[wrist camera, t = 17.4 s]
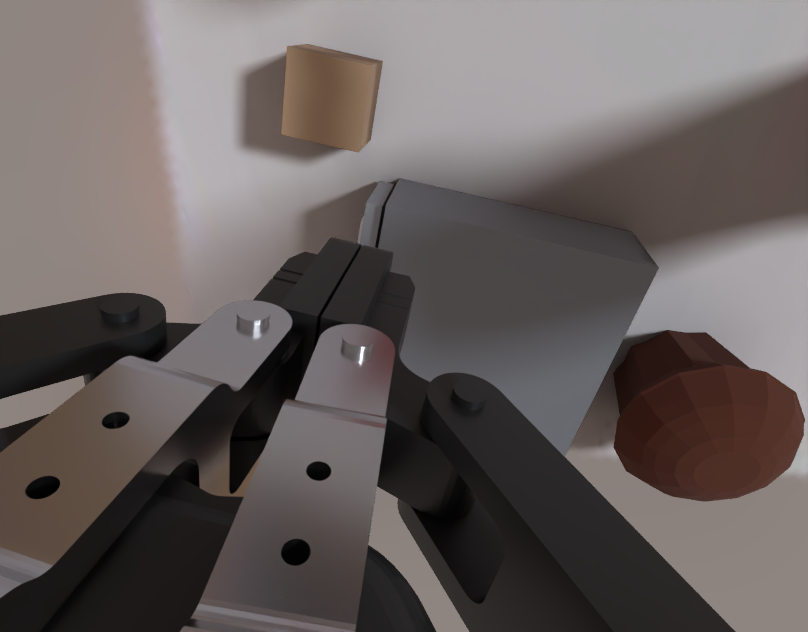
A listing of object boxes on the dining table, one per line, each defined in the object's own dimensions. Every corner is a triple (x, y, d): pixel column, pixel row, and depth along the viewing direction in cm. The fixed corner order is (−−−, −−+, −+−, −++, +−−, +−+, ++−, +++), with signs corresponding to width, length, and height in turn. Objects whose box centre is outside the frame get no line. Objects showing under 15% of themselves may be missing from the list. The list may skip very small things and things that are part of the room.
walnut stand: (382, 61, 32) (371, 65, 28) (370, 139, 34) (358, 152, 31) (307, 44, 32) (287, 46, 28) (300, 123, 34) (281, 134, 31)
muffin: (604, 440, 44) (635, 540, 36) (584, 334, 39) (614, 420, 31) (757, 418, 41) (832, 521, 33) (756, 300, 36) (843, 385, 28)
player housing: (632, 231, 35) (658, 267, 30) (553, 407, 43) (563, 459, 38) (399, 178, 35) (386, 204, 30) (364, 362, 43) (348, 408, 38)
